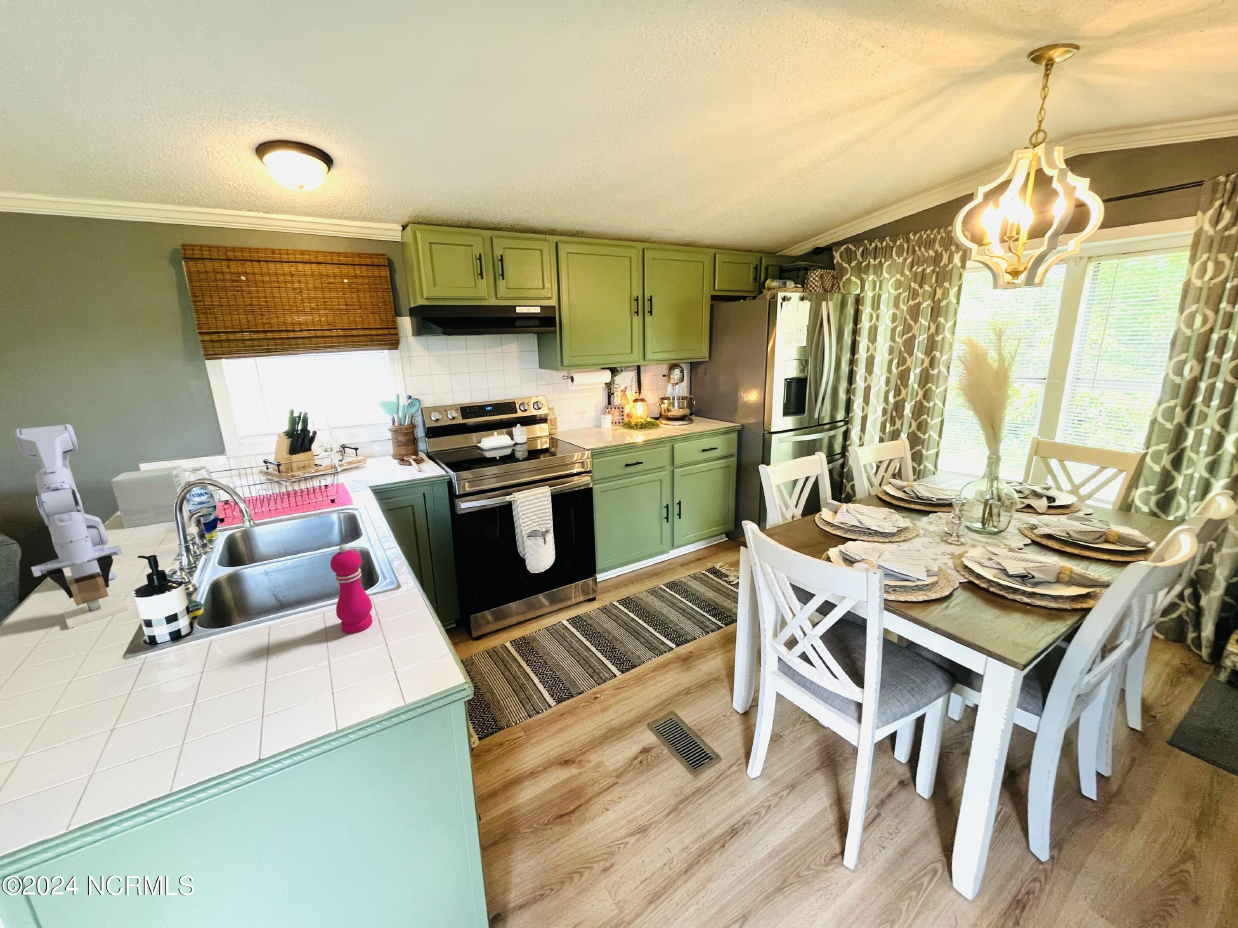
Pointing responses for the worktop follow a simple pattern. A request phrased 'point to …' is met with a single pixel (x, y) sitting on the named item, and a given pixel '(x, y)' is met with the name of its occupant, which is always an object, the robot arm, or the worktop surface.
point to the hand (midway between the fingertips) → (89, 591)
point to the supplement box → (147, 495)
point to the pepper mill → (351, 592)
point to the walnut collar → (88, 588)
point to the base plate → (94, 611)
